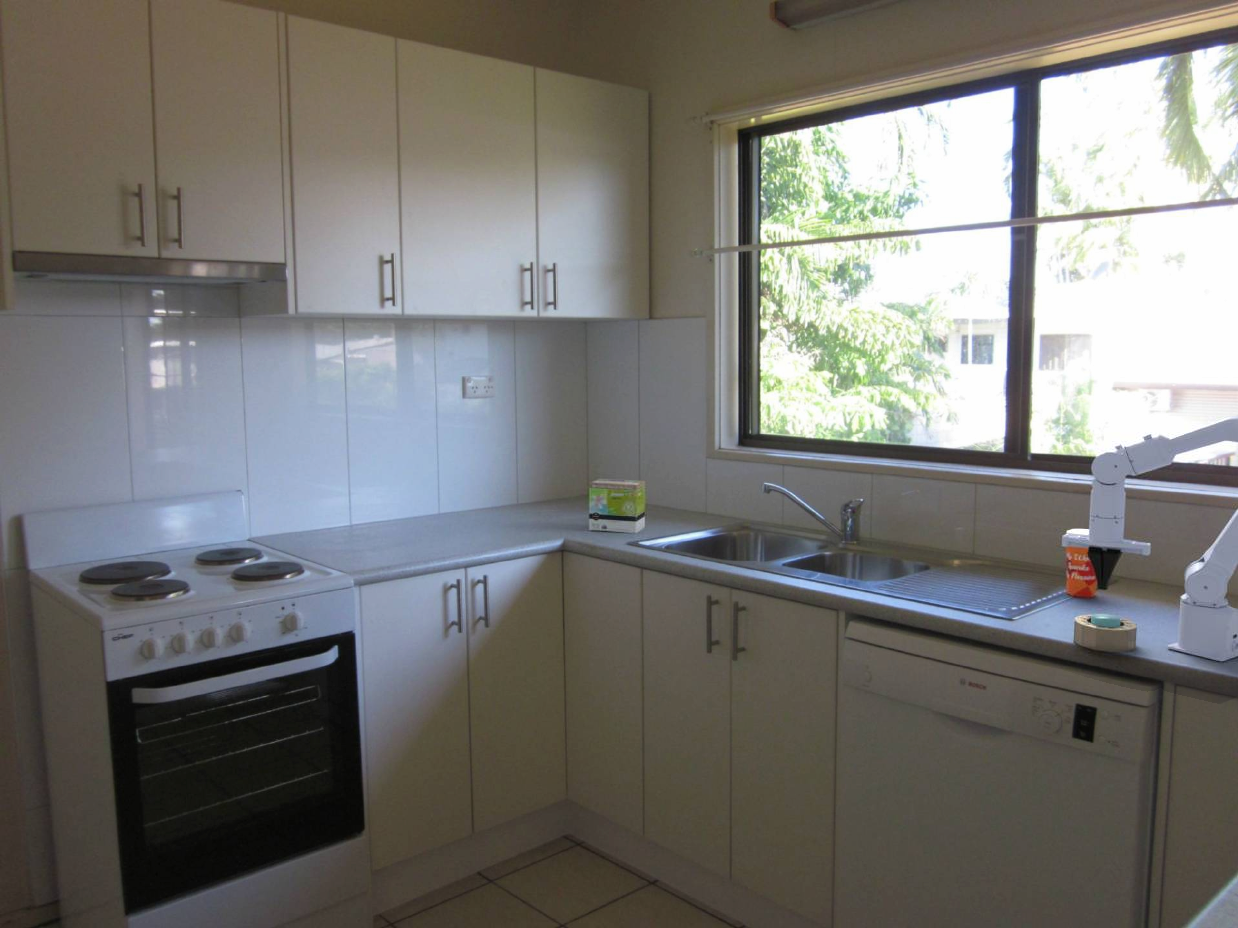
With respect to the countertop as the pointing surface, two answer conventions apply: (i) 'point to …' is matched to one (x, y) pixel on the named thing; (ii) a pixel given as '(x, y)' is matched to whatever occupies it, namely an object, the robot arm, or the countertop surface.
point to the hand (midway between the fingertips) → (1102, 588)
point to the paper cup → (1079, 569)
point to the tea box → (617, 505)
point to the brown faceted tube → (1105, 635)
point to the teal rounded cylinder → (1105, 620)
